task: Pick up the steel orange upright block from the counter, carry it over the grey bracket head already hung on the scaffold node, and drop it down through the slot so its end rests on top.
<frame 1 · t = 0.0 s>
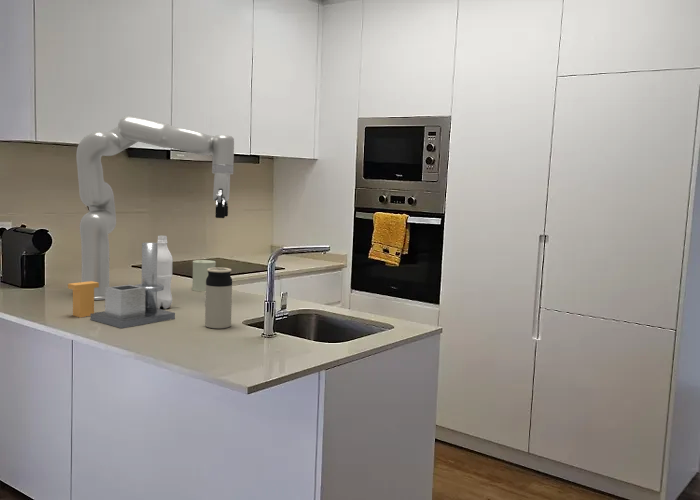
hand: (221, 217, 251), 31 cm above the counter, tool pointing down, fingers open, 9 cm apart
travel mug: (218, 326, 214), on the counter
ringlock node: (133, 319, 219), on the counter
water bottle: (161, 308, 239), on the counter
orange upright block: (83, 315, 221), on the counter
can: (203, 290, 277), on the counter
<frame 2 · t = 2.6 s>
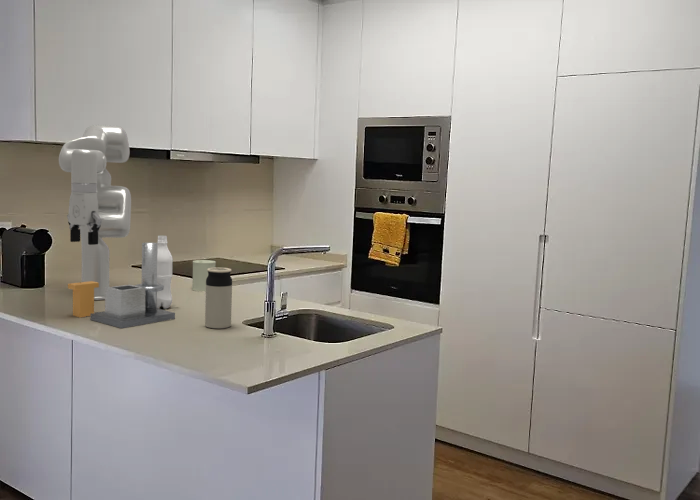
hand: (84, 243, 219), 23 cm above the counter, tool pointing down, fingers open, 9 cm apart
nothing on the counter moved.
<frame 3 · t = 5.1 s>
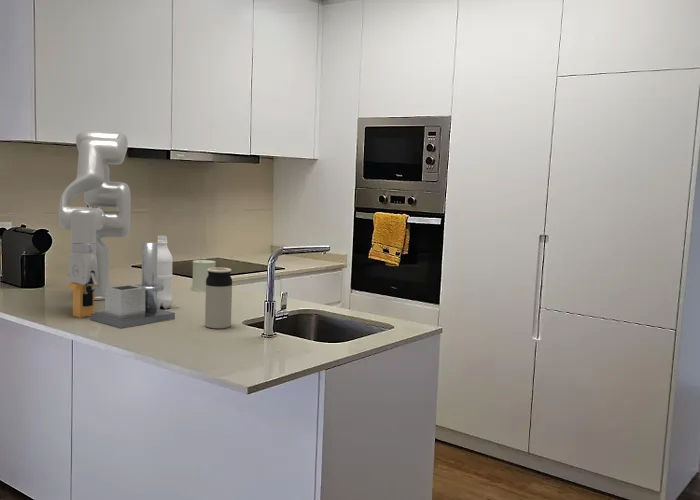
hand: (83, 304, 221), 4 cm above the counter, tool pointing down, fingers closed on orange upright block, 4 cm apart
orange upright block: (83, 315, 221), on the counter, touching gripper
everything else where it was.
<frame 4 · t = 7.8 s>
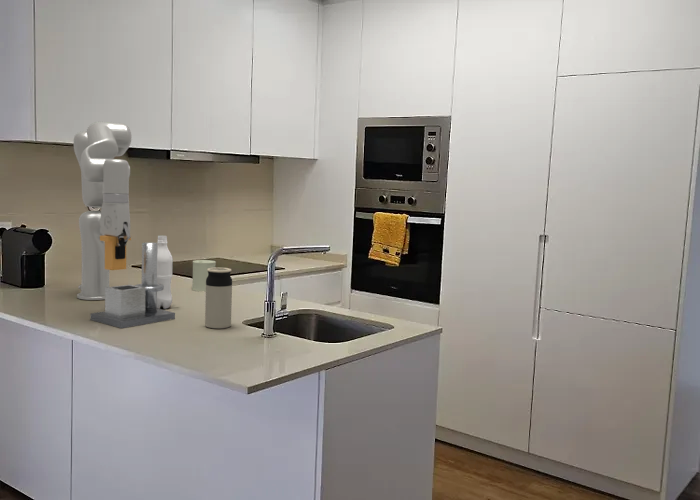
hand: (115, 257, 215), 20 cm above the counter, tool pointing down, fingers closed on orange upright block, 4 cm apart
orange upright block: (115, 269, 215), point 16 cm above the counter, touching gripper
everything else where it was.
when the fingers open (11 cm above the counter, at t = 10.3 s): orange upright block drops 5 cm, resting on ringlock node.
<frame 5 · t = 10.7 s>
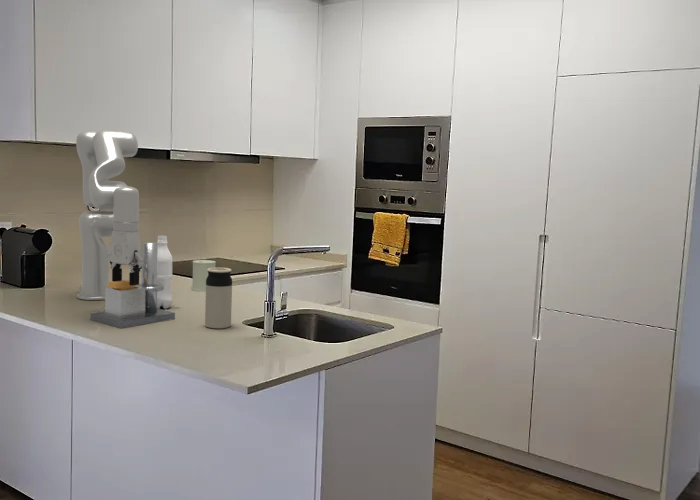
hand: (125, 282, 215), 12 cm above the counter, tool pointing down, fingers open, 8 cm apart
orange upright block: (123, 314, 216), point 2 cm above the counter, touching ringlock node
everything else where it was.
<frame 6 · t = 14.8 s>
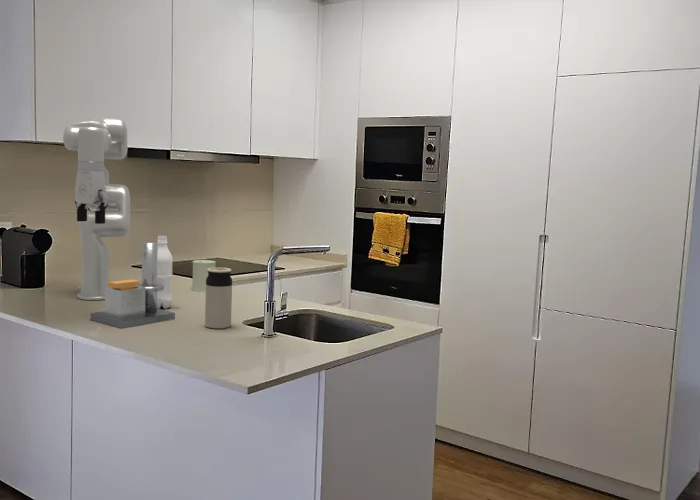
hand: (90, 222, 216), 30 cm above the counter, tool pointing down, fingers open, 9 cm apart
nothing on the counter moved.
at the end: orange upright block 0.6 cm from the target spot on the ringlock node, point 2.0 cm above the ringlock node's base; orange upright block tilted 0°; the gripper is holding nothing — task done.
